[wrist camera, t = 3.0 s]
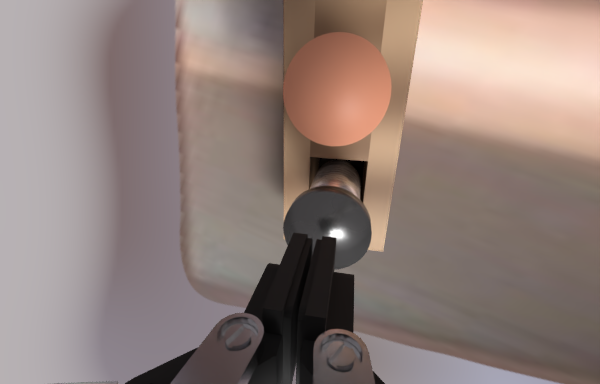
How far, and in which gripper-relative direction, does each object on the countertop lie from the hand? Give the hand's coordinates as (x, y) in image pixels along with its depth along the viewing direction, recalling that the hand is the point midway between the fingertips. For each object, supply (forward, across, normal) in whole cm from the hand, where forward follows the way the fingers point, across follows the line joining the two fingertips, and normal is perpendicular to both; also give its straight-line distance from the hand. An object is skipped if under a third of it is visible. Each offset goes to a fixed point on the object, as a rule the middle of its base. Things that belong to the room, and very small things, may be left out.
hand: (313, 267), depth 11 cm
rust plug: (+9, 0, -6) cm, 11 cm away
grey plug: (+9, 0, 0) cm, 9 cm away
